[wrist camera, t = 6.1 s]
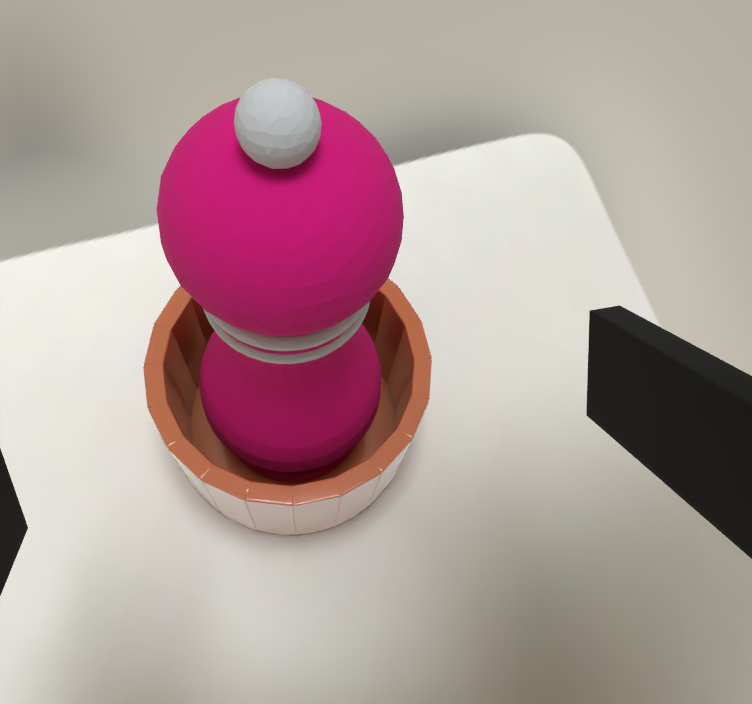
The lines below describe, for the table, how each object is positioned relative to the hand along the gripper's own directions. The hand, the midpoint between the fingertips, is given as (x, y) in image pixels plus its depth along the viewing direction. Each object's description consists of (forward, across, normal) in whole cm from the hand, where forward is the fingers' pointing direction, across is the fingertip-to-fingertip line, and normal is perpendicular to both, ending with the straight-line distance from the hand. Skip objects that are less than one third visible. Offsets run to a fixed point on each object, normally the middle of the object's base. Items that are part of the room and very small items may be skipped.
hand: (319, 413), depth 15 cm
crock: (+15, 0, -8) cm, 17 cm away
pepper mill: (+15, 0, -8) cm, 17 cm away
